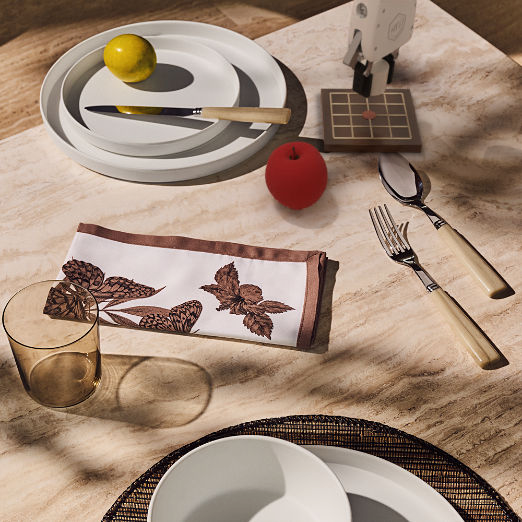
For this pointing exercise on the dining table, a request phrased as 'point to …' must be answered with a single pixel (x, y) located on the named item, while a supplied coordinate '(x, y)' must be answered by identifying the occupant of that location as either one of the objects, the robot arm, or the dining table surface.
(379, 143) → the board
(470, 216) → the dining table surface
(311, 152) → the apple
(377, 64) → the white cylinder
